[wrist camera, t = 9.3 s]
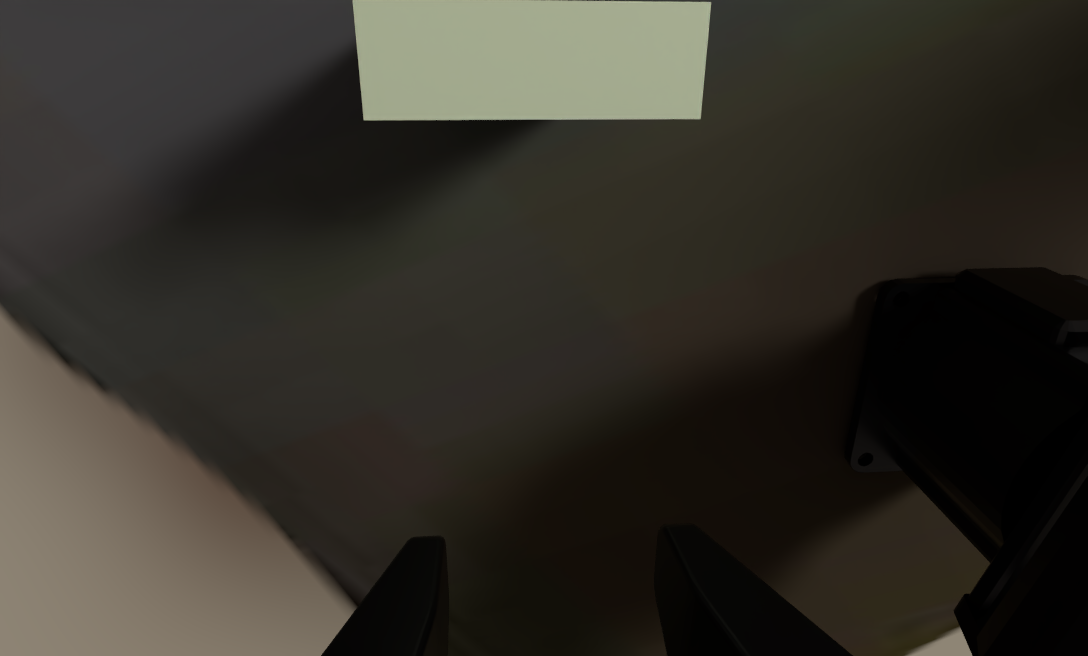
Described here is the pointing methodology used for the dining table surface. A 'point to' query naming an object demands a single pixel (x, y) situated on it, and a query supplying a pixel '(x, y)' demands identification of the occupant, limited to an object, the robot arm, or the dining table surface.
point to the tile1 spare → (531, 59)
